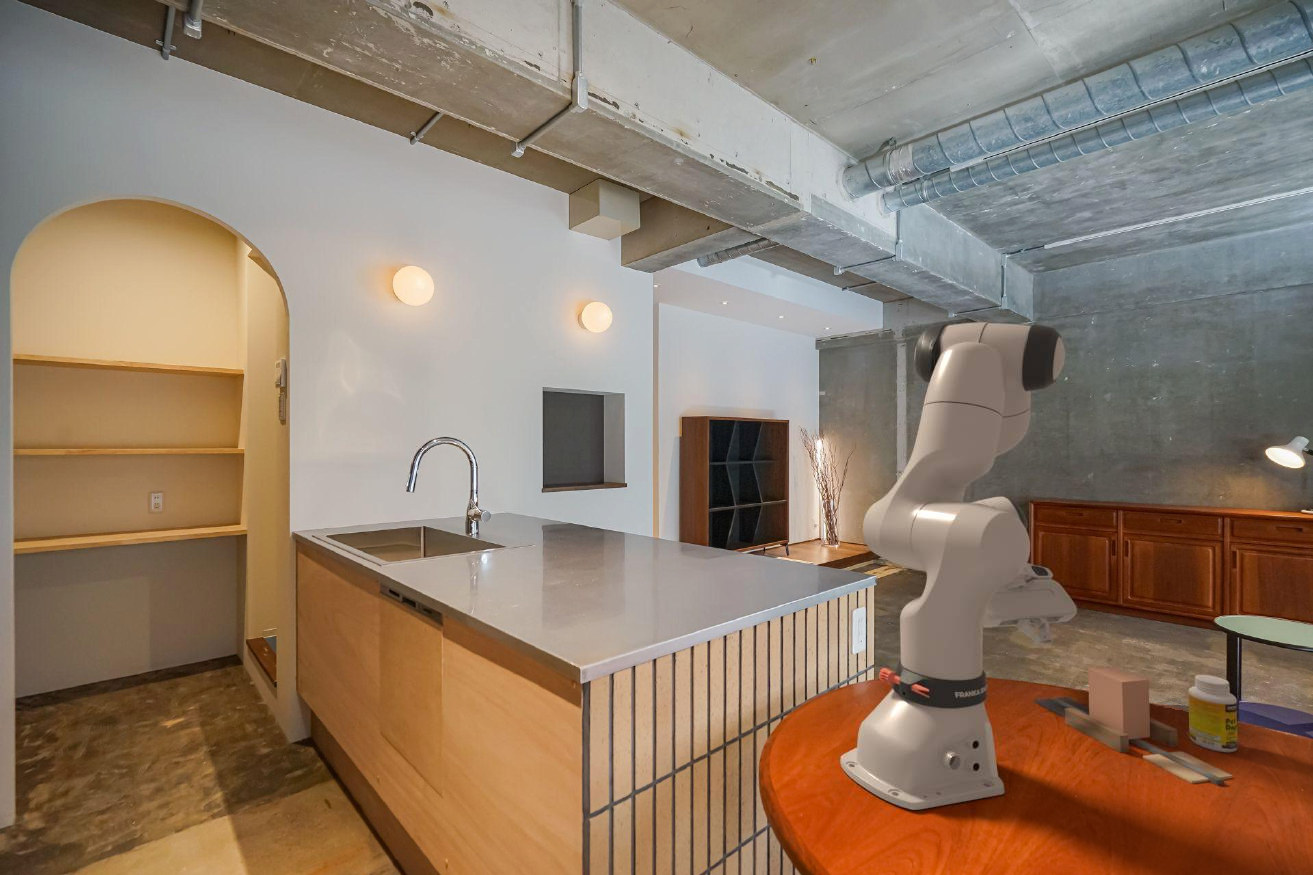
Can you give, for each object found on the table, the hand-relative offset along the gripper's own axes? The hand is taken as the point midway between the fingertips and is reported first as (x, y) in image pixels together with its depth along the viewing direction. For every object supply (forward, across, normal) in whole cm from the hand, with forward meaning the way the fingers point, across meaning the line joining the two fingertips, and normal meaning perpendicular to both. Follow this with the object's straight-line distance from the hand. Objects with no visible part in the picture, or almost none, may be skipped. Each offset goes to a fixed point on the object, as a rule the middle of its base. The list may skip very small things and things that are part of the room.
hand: (1045, 643), depth 112 cm
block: (+17, 0, -3) cm, 18 cm away
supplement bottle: (+22, +11, -7) cm, 25 cm away
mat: (+25, 0, -10) cm, 27 cm away
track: (+17, 0, -3) cm, 18 cm away
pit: (+10, 0, +4) cm, 11 cm away
